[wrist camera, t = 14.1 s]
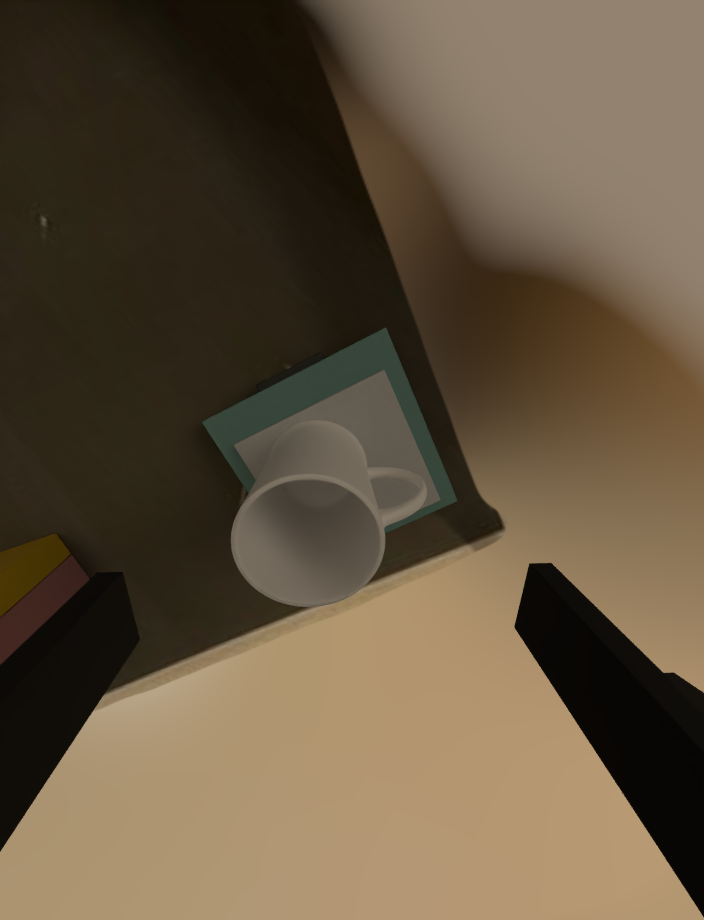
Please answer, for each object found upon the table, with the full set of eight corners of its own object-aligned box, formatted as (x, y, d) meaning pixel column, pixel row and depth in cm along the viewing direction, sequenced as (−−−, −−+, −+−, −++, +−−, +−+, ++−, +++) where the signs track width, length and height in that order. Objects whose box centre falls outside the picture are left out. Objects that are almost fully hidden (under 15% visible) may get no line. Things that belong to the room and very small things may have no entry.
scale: (378, 322, 28) (384, 319, 25) (448, 490, 33) (460, 503, 30) (208, 410, 29) (194, 417, 26) (302, 556, 35) (299, 576, 32)
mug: (403, 414, 27) (455, 458, 16) (403, 505, 30) (447, 599, 18) (262, 422, 27) (210, 475, 15) (275, 515, 29) (239, 617, 18)
